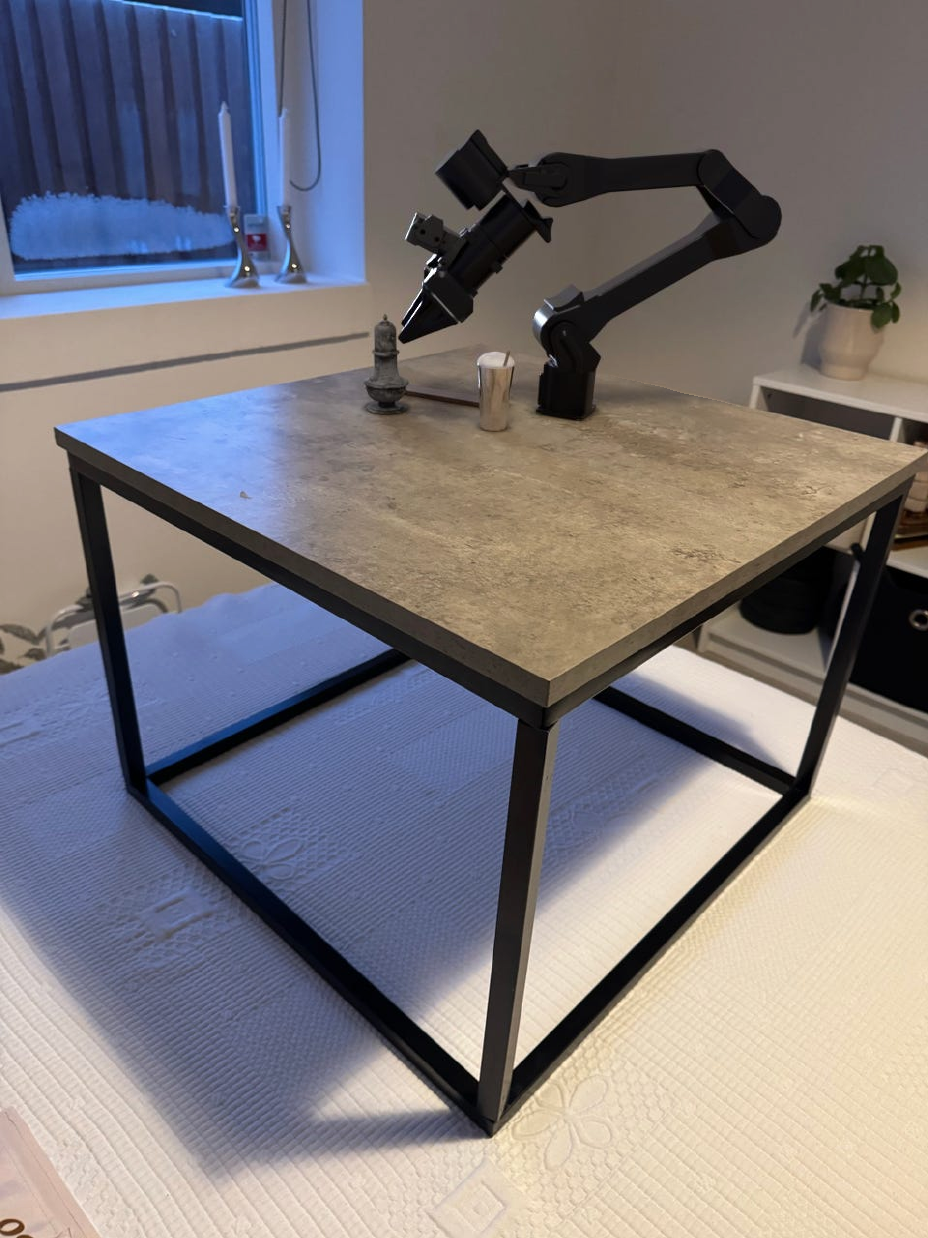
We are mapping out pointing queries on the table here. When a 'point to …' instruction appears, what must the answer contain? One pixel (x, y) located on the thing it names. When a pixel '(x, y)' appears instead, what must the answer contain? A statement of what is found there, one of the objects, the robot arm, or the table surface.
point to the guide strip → (442, 395)
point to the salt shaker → (385, 372)
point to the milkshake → (494, 389)
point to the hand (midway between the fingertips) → (401, 333)
